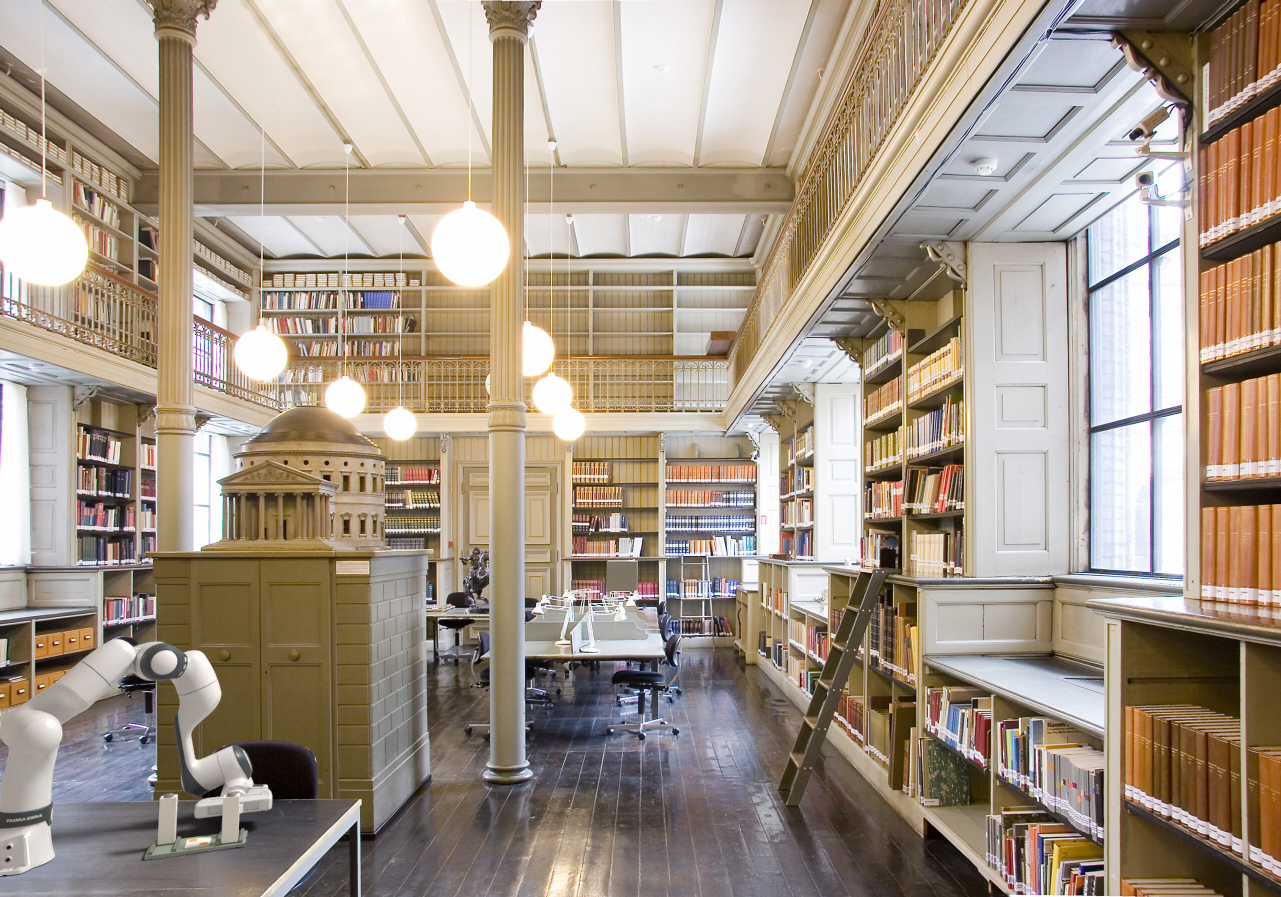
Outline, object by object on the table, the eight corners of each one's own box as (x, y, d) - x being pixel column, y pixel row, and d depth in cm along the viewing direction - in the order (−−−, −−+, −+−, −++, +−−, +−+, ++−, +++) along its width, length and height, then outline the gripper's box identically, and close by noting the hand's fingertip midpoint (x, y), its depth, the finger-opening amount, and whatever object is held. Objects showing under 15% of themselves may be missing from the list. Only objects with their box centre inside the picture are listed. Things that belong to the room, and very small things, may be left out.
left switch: (159, 841, 230) (161, 793, 231) (175, 839, 231) (178, 792, 232) (157, 845, 227) (160, 796, 228) (174, 842, 228) (176, 795, 230)
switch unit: (151, 846, 230) (151, 839, 230) (247, 833, 239) (247, 827, 239) (144, 860, 220) (144, 853, 220) (245, 847, 229) (245, 840, 229)
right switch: (222, 840, 230) (224, 792, 232) (238, 838, 232) (240, 790, 233) (221, 843, 228) (223, 795, 229) (237, 841, 229) (239, 794, 230)
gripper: (197, 792, 244) (191, 806, 232) (273, 783, 252) (271, 797, 239) (196, 814, 244) (190, 830, 231) (272, 805, 251) (271, 820, 239)
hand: (232, 813), depth 235 cm, fingers closed
